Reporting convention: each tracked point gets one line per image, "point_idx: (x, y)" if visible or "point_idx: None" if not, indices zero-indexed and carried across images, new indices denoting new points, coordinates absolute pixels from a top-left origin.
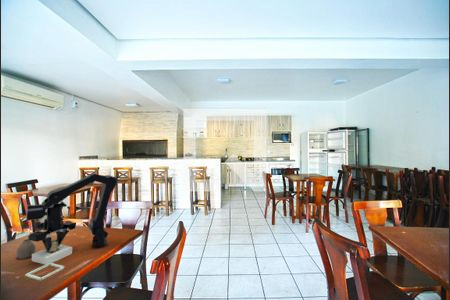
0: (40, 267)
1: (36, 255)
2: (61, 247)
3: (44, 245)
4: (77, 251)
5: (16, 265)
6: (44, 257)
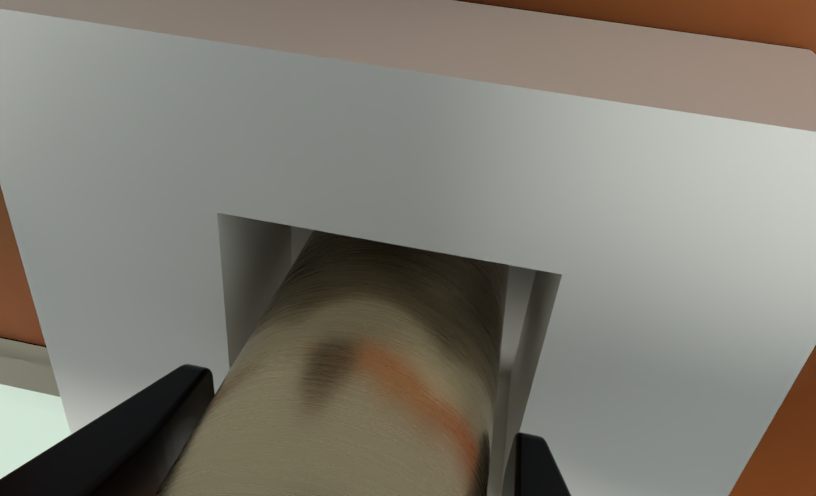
0: (29, 397)
1: (10, 199)
2: (598, 442)
3: (11, 481)
4: (813, 460)
5: None
6: (72, 425)
